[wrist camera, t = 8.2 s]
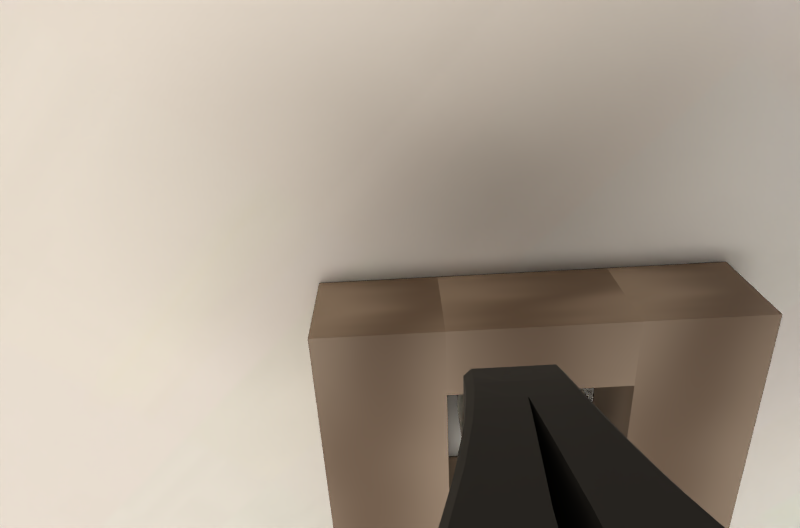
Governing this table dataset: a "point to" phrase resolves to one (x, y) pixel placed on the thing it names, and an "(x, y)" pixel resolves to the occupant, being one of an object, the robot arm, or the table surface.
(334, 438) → the brown wooden tray
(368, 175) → the table surface
